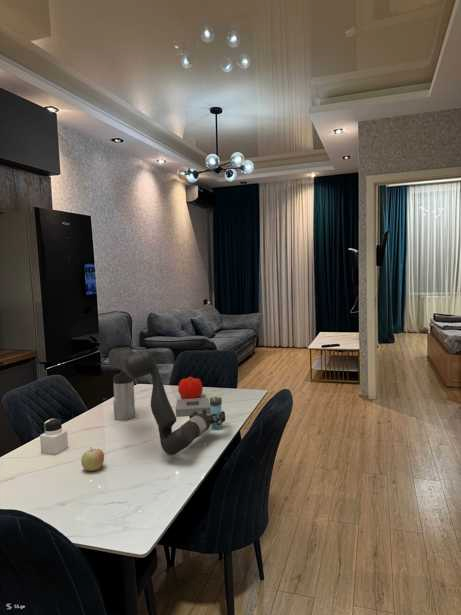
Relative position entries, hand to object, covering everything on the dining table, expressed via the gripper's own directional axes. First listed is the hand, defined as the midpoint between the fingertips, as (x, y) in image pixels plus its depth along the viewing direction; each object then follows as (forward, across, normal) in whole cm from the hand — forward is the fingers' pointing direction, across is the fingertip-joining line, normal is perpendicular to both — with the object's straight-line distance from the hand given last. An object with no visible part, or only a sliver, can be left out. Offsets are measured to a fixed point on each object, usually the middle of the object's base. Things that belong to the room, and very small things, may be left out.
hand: (214, 412), depth 180 cm
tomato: (+39, +32, +8) cm, 51 cm away
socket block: (+20, +21, +8) cm, 30 cm away
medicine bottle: (-39, +51, +8) cm, 65 cm away
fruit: (-47, +25, +8) cm, 54 cm away
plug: (+2, 0, +7) cm, 8 cm away
